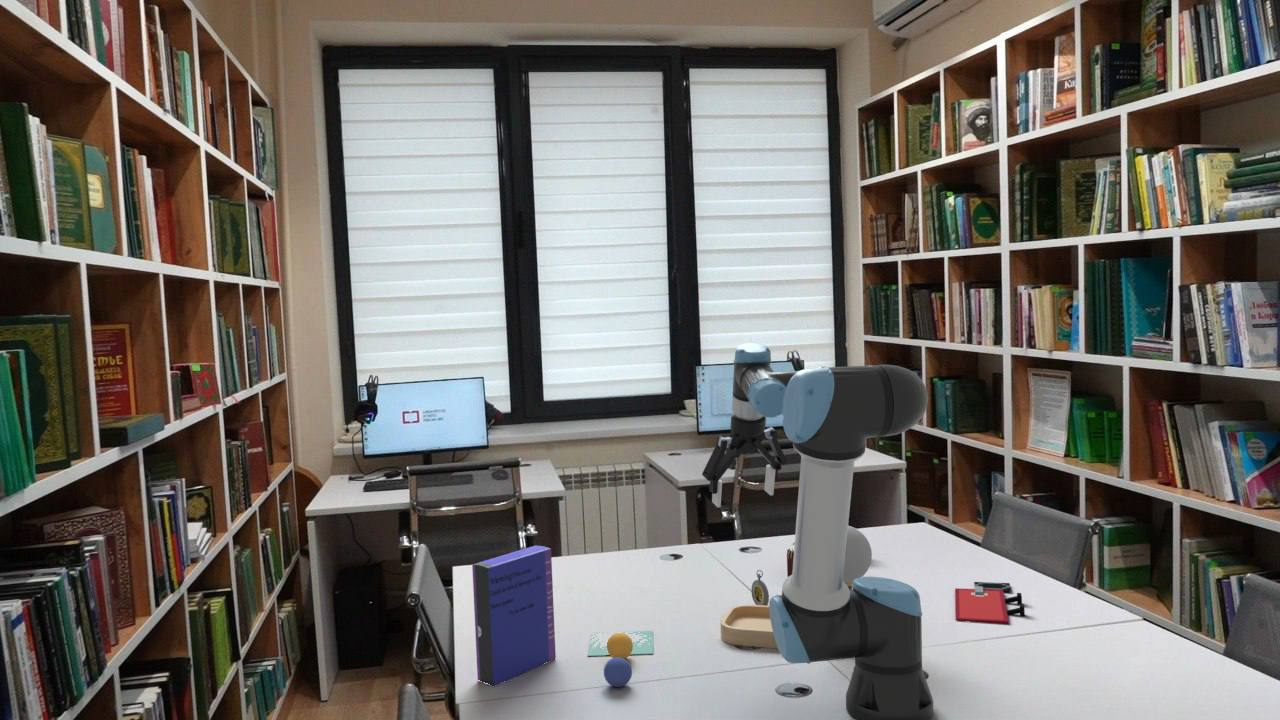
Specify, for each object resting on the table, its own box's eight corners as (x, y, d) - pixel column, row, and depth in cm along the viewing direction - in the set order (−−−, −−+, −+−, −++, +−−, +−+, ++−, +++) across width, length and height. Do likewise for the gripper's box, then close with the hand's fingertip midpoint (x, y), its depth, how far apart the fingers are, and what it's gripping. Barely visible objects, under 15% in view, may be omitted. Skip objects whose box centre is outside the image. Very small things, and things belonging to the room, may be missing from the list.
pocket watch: (729, 616, 219) (727, 574, 219) (744, 605, 226) (743, 565, 226) (761, 621, 215) (759, 578, 214) (775, 610, 222) (774, 569, 221)
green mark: (653, 654, 196) (653, 653, 196) (587, 656, 196) (587, 655, 196) (652, 631, 210) (652, 630, 210) (591, 633, 210) (591, 632, 210)
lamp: (716, 644, 201) (712, 530, 200) (732, 618, 218) (729, 512, 216) (871, 656, 191) (868, 536, 190) (877, 628, 207) (874, 517, 206)
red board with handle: (1017, 587, 234) (955, 584, 238) (1017, 576, 233) (954, 574, 238) (1026, 628, 205) (955, 624, 210) (1026, 616, 205) (955, 612, 210)
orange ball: (633, 663, 192) (632, 637, 191) (606, 664, 192) (605, 638, 191) (633, 653, 197) (632, 628, 197) (607, 654, 197) (606, 629, 197)
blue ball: (632, 691, 178) (631, 663, 177) (603, 692, 178) (602, 664, 177) (632, 679, 183) (631, 652, 183) (604, 680, 183) (603, 653, 183)
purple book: (539, 654, 199) (535, 544, 198) (555, 659, 196) (550, 547, 195) (477, 681, 185) (472, 563, 184) (493, 686, 182) (488, 567, 181)
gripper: (788, 397, 207) (781, 480, 215) (689, 415, 198) (685, 501, 206) (807, 410, 201) (799, 495, 209) (705, 430, 191) (701, 518, 199)
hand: (742, 498), depth 207 cm, fingers open, 13 cm apart
